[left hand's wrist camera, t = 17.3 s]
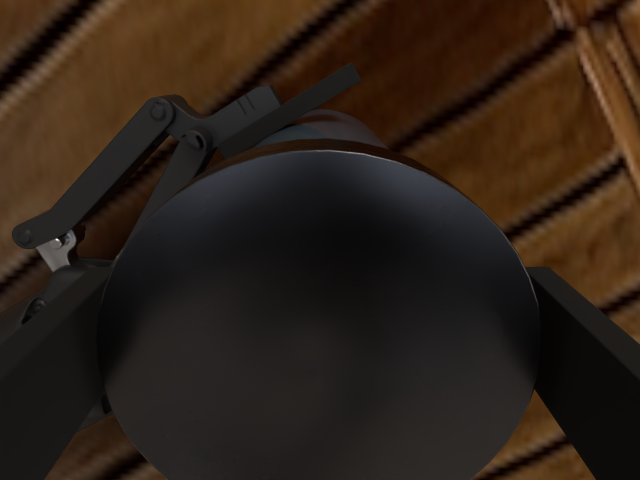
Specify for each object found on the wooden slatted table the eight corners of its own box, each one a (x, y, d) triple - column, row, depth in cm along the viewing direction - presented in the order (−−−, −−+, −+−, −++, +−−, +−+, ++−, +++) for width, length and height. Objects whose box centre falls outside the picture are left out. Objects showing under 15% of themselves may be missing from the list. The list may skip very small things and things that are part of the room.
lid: (49, 225, 11) (4, 250, 9) (458, 68, 10) (484, 68, 8) (223, 514, 14) (212, 567, 13) (546, 423, 13) (577, 471, 12)
